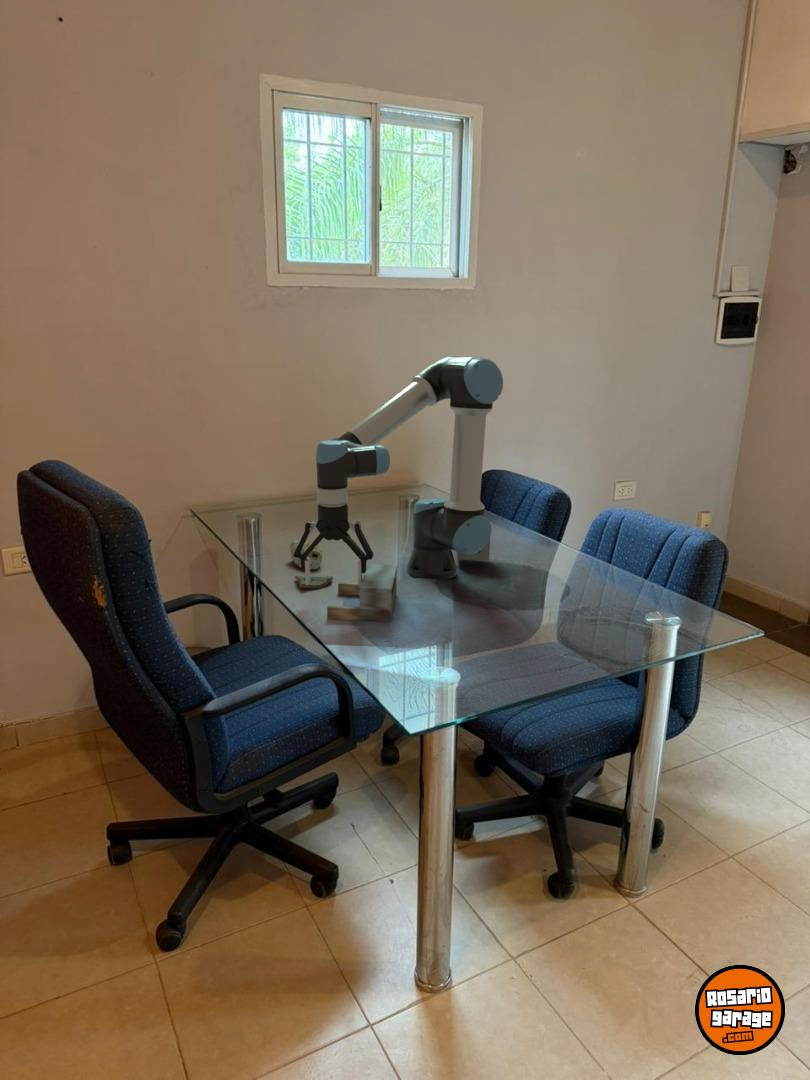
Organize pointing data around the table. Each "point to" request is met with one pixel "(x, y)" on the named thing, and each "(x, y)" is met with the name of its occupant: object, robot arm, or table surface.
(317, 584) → the ceramic fragment
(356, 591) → the seat fixture
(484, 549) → the icon cube
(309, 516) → the table surface
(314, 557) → the seashell
